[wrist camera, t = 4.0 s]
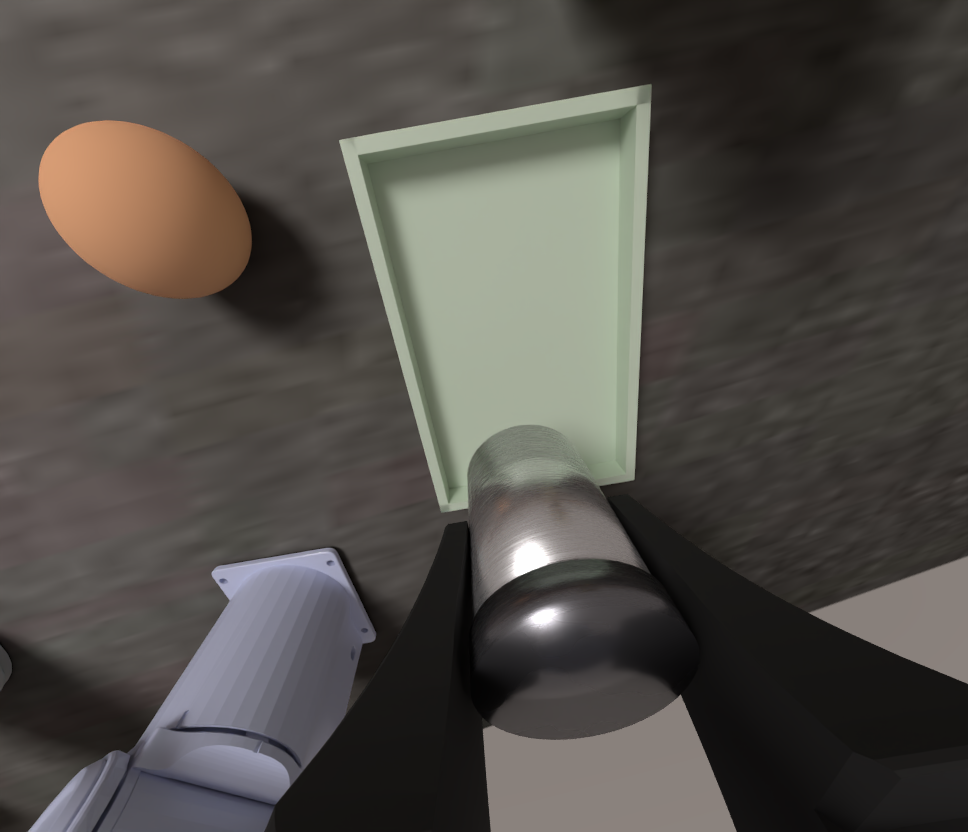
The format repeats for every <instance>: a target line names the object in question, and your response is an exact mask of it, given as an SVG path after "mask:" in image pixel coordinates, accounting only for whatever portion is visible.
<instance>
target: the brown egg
mask: <svg viewBox="0 0 968 832" xmlns="http://www.w3.org/2000/svg"><path fill="white" fill-rule="evenodd" d="M39 190H40V195H41V199H42V202H43V205H44V208H45V210H46V212H47V215H48V217H49V218H50V220H51V222H52V224H53V225H54V227H55V228H56V230H57V231H58V233H59V234H60V235H61V237H62V238H63V239H64V240H65V241H66V243H67V244H68V245H69V246H70V247H71V248H72V249H73V250H74V251H75V252H76V253H77V254H78V255H79V256H80V257H81V258H82V259H83V260H85V261H86V262H87V263H88V264H90V265H91V266H92V267H94V268H95V269H97V270H98V271H99V272H101V273H102V274H104V275H106V276H107V277H109V278H111V279H112V280H115V281H117V282H119V283H121V284H123V285H125V286H127V287H129V288H132V289H135V290H137V291H140V292H144V293H147V294H151V295H155V296H160V297H166V298H176V299H188V298H198V297H203V296H207V295H211V294H214V293H216V292H219V291H221V290H223V289H224V288H226V287H228V286H229V285H231V284H232V283H233V282H234V281H235V280H236V279H238V277H239V276H240V275H241V273H242V272H243V271H244V269H245V267H246V265H247V263H248V261H249V257H250V253H251V247H252V235H251V227H250V223H249V219H248V216H247V213H246V211H245V208H244V206H243V204H242V202H241V200H240V198H239V197H238V195H237V193H236V191H235V190H234V189H233V187H232V186H231V184H230V183H229V182H228V181H227V179H226V178H225V177H224V176H223V175H222V174H221V173H220V172H219V170H218V169H217V168H216V167H215V166H213V165H212V164H211V163H210V162H209V161H208V160H207V159H206V158H204V157H203V156H202V155H200V154H199V153H198V152H196V151H195V150H194V149H192V148H191V147H189V146H188V145H186V144H184V143H183V142H181V141H179V140H177V139H175V138H173V137H171V136H169V135H167V134H165V133H163V132H161V131H158V130H155V129H152V128H149V127H146V126H143V125H139V124H134V123H130V122H122V121H109V120H106V121H95V122H87V123H84V124H80V125H77V126H75V127H73V128H70V129H68V130H66V131H64V132H63V133H61V134H60V135H59V136H58V137H56V138H55V139H54V140H53V142H52V143H51V144H50V145H49V146H48V148H47V149H46V151H45V153H44V155H43V157H42V160H41V164H40V169H39Z"/></svg>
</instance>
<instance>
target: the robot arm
mask: <svg viewBox="0 0 968 832" xmlns="http://www.w3.org/2000/svg"><path fill="white" fill-rule="evenodd" d="M608 502H609V504H610V506H611V508H612V509H613V511H614V513H615V514H616V516H617V518H618V519H619V521H620V523H621V524H622V526H623V528H624V529H625V531H626V533H627V534H628V536H629V538H630V540H631V541H632V543H633V545H634V546H635V548H636V550H637V551H638V553H639V555H640V556H641V558H642V560H643V561H644V563H645V565H646V566H647V568H648V570H649V571H650V573H651V575H652V576H654V577H655V578H656V579H657V580H658V581H659V582H660V583H661V584H662V585H663V586H664V588H665V589H666V591H667V592H668V594H669V596H670V597H671V599H672V600H673V602H674V604H675V605H676V607H677V609H678V610H679V612H680V614H681V615H682V617H683V618H684V620H685V622H686V623H687V625H688V627H689V628H690V630H691V632H692V633H693V635H694V637H695V639H696V641H697V643H698V646H699V650H700V662H699V666H698V670H697V672H696V674H695V676H694V678H693V680H692V681H691V683H690V684H689V686H688V687H687V688H686V689H685V690H684V691H683V692H682V694H681V696H682V698H683V701H684V703H685V705H686V708H687V710H688V712H689V715H690V717H691V719H692V722H693V724H694V726H695V729H696V731H697V734H698V736H699V738H700V741H701V743H702V746H703V748H704V750H705V753H706V755H707V758H708V760H709V763H710V765H711V767H712V770H713V772H714V775H715V777H716V780H717V782H718V785H719V787H720V790H721V792H722V795H723V797H724V800H725V802H726V805H727V807H728V810H729V812H730V815H731V818H732V820H733V823H734V826H735V828H736V831H737V832H968V684H967V683H964V682H962V681H959V680H957V679H954V678H952V677H950V676H947V675H945V674H942V673H940V672H937V671H935V670H932V669H930V668H928V667H925V666H923V665H920V664H918V663H915V662H913V661H911V660H908V659H906V658H903V657H901V656H899V655H896V654H894V653H892V652H890V651H887V650H885V649H883V648H881V647H878V646H876V645H874V644H871V643H870V642H868V641H865V640H863V639H861V638H859V637H856V636H854V635H852V634H850V633H848V632H846V631H844V630H842V629H840V628H838V627H835V626H833V625H831V624H829V623H827V622H825V621H823V620H821V619H819V618H817V617H815V616H813V615H811V614H809V613H808V612H806V611H804V610H802V609H800V608H798V607H796V606H794V605H792V604H790V603H788V602H786V601H784V600H783V599H781V598H779V597H777V596H775V595H773V594H772V593H770V592H768V591H766V590H765V589H763V588H761V587H759V586H758V585H756V584H754V583H753V582H751V581H749V580H747V579H746V578H744V577H742V576H741V575H739V574H737V573H736V572H734V571H732V570H731V569H729V568H728V567H726V566H725V565H723V564H721V563H720V562H718V561H717V560H715V559H714V558H712V557H711V556H709V555H708V554H706V553H705V552H703V551H702V550H701V549H699V548H698V547H696V546H695V545H693V544H692V543H691V542H689V541H688V540H686V539H685V538H684V537H682V536H681V535H680V534H678V533H677V532H675V531H674V530H673V529H671V528H670V527H669V526H667V525H666V524H665V523H663V522H662V521H661V520H660V519H658V518H657V517H656V516H654V515H653V514H652V513H651V512H649V511H648V510H647V509H645V508H644V507H643V506H642V505H640V504H639V503H638V502H637V501H635V500H634V499H633V498H631V497H630V496H629V495H627V494H625V495H619V496H613V497H608ZM330 560H332V561H330ZM212 576H213V578H214V579H215V581H216V582H217V583H218V585H219V586H220V588H221V589H222V590H223V592H224V593H225V594H226V596H227V597H228V598H229V600H230V602H229V603H228V605H227V606H226V608H225V609H224V611H223V613H222V614H221V616H220V617H219V619H218V620H217V622H216V623H215V625H214V626H213V628H212V629H211V631H210V632H209V634H208V635H207V637H206V639H205V640H204V642H203V643H202V645H201V646H200V648H199V649H198V651H197V652H196V654H195V655H194V657H193V658H192V660H191V661H190V663H189V664H188V666H187V668H186V669H185V671H184V672H183V674H182V675H181V677H180V678H179V680H178V681H177V683H176V684H175V686H174V687H173V689H172V690H171V692H170V694H169V695H168V697H167V698H166V700H165V701H164V703H163V704H162V706H161V707H160V709H159V710H158V712H157V713H156V715H155V716H154V718H153V720H152V721H151V723H150V724H149V726H148V727H147V729H146V730H145V732H144V733H143V735H142V736H141V738H140V739H139V741H138V742H137V744H136V746H135V747H133V748H132V749H131V750H130V751H129V752H128V753H124V752H122V751H119V750H115V751H112V752H110V753H109V754H107V755H106V756H105V757H104V758H103V759H100V760H98V761H96V762H94V763H92V764H90V765H89V766H87V767H85V768H84V769H82V770H81V771H80V772H79V773H78V774H77V775H76V776H75V777H74V778H73V779H72V780H71V781H70V782H69V783H68V784H67V785H66V786H65V788H64V789H63V790H62V791H61V792H60V793H59V794H58V796H57V797H56V798H55V799H54V800H53V801H52V803H51V804H50V805H49V806H48V807H47V809H46V810H45V811H44V812H43V813H42V815H41V816H40V817H39V818H38V820H37V821H36V822H35V823H34V825H33V826H32V827H31V828H30V829H29V831H28V832H491V830H490V818H489V806H488V794H487V781H486V768H485V757H484V756H485V755H484V741H483V727H482V716H481V715H480V714H479V713H478V711H477V710H476V708H475V706H474V705H473V702H472V699H471V692H470V657H469V632H470V626H471V624H472V621H473V613H472V588H471V562H470V537H469V528H468V523H467V521H464V522H458V523H452V524H448V525H447V526H446V527H445V530H444V534H443V537H442V540H441V543H440V546H439V549H438V552H437V554H436V557H435V559H434V562H433V564H432V567H431V569H430V572H429V574H428V576H427V579H426V581H425V583H424V585H423V588H422V590H421V592H420V594H419V596H418V598H417V600H416V602H415V604H414V606H413V608H412V610H411V612H410V614H409V616H408V618H407V620H406V622H405V624H404V626H403V627H402V629H401V631H400V633H399V635H398V636H397V638H396V640H395V641H394V643H393V645H392V647H391V648H390V650H389V652H388V653H387V655H386V656H385V658H384V660H383V661H382V663H381V664H380V666H379V668H378V669H377V671H376V672H375V674H374V675H373V677H372V679H371V680H370V682H369V683H368V685H367V686H366V688H365V689H364V690H363V692H362V693H361V695H360V696H359V698H358V699H357V700H356V702H355V703H354V705H353V706H352V707H351V709H350V710H349V711H348V713H347V714H346V716H345V713H346V709H347V705H348V701H349V697H350V693H351V689H352V685H353V681H354V677H355V673H356V669H357V665H358V661H359V656H360V652H361V648H362V644H364V643H370V642H373V641H374V640H375V639H376V632H375V630H374V627H373V625H372V623H371V621H370V619H369V617H368V615H367V613H366V611H365V609H364V607H363V605H362V602H361V600H360V598H359V596H358V594H357V592H356V590H355V588H354V586H353V584H352V582H351V580H350V577H349V575H348V573H347V571H346V569H345V567H344V565H343V563H342V561H341V559H340V557H339V554H338V552H337V551H336V550H335V549H333V548H323V549H317V550H311V551H305V552H299V553H293V554H287V555H281V556H275V557H270V558H264V559H258V560H252V561H246V562H240V563H234V564H228V565H222V566H218V567H216V568H215V569H214V570H213V572H212Z"/></svg>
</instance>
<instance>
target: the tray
mask: <svg viewBox="0 0 968 832" xmlns="http://www.w3.org/2000/svg"><path fill="white" fill-rule="evenodd" d="M651 89H652V84H649V85H643V86H637V87H632V88H626V89H621V90H615V91H610V92H604V93H598V94H593V95H587V96H582V97H576V98H571V99H565V100H560V101H554V102H548V103H543V104H537V105H532V106H526V107H521V108H515V109H509V110H504V111H498V112H493V113H487V114H482V115H476V116H471V117H465V118H459V119H454V120H448V121H443V122H437V123H432V124H426V125H420V126H415V127H409V128H404V129H398V130H393V131H387V132H382V133H376V134H370V135H365V136H359V137H354V138H348V139H343V140H339V142H340V145H341V149H342V153H343V156H344V160H345V164H346V167H347V171H348V174H349V178H350V182H351V185H352V189H353V193H354V196H355V200H356V204H357V207H358V211H359V214H360V218H361V222H362V225H363V229H364V233H365V236H366V240H367V244H368V247H369V251H370V254H371V258H372V262H373V265H374V269H375V273H376V276H377V280H378V284H379V287H380V291H381V294H382V298H383V302H384V305H385V309H386V313H387V316H388V320H389V324H390V327H391V331H392V334H393V338H394V342H395V345H396V349H397V353H398V356H399V360H400V364H401V367H402V371H403V374H404V378H405V382H406V385H407V389H408V393H409V396H410V400H411V404H412V407H413V411H414V415H415V418H416V422H417V425H418V429H419V433H420V436H421V440H422V444H423V447H424V451H425V455H426V458H427V462H428V465H429V469H430V473H431V476H432V480H433V484H434V487H435V491H436V495H437V498H438V502H439V505H440V509H441V513H442V512H448V511H454V510H460V509H466V508H468V486H467V472H468V467H469V463H470V461H471V459H472V456H473V455H474V453H475V452H476V450H477V449H478V448H479V447H480V445H481V444H482V443H483V442H485V441H486V440H487V439H488V438H490V437H491V436H492V435H494V434H496V433H498V432H500V431H502V430H504V429H507V428H510V427H514V426H519V425H541V426H546V427H549V428H552V429H555V430H556V431H558V432H560V433H562V434H563V435H565V436H566V437H567V438H568V439H569V440H570V441H571V442H572V443H573V444H574V446H575V447H576V449H577V450H578V452H579V454H580V455H581V457H582V459H583V460H584V462H585V464H586V465H587V467H588V469H589V471H590V472H591V474H592V476H593V477H594V479H595V481H596V482H597V484H598V486H602V485H608V484H614V483H620V482H626V481H632V480H634V479H635V456H636V433H637V410H638V387H639V364H640V341H641V318H642V295H643V273H644V250H645V227H646V204H647V181H648V158H649V135H650V112H651Z"/></svg>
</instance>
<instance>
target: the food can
mask: <svg viewBox="0 0 968 832" xmlns="http://www.w3.org/2000/svg"><path fill="white" fill-rule="evenodd" d="M11 673H12V663H11V660H10V658H9V656H8V654H7V653H6V651H5V650H4V649H3V647H2V646H1V645H0V691H1V690H2V688H3V686H4V684H5V683H6V682H7V681H8V679H9V677H10V675H11Z"/></svg>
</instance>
